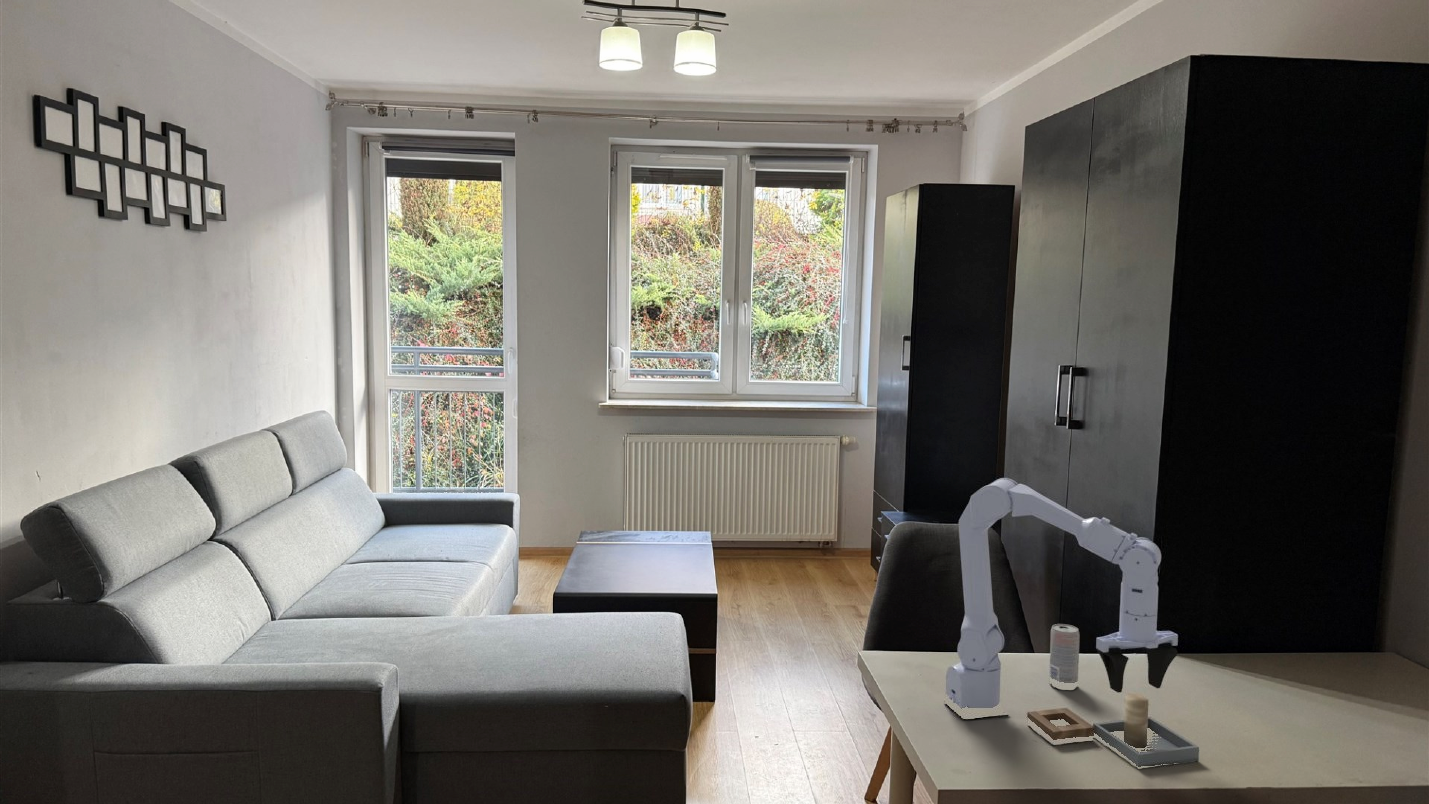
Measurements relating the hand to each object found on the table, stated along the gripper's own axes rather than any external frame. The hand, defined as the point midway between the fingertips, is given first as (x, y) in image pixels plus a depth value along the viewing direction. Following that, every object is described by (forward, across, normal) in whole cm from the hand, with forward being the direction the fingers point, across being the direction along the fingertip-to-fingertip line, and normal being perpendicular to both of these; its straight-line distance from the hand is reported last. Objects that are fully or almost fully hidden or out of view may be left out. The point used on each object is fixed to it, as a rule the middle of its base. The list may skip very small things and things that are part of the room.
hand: (1135, 688), depth 150 cm
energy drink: (+11, +4, +25) cm, 28 cm away
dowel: (+10, 0, 0) cm, 10 cm away
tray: (+10, +1, -1) cm, 11 cm away
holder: (+10, -9, +7) cm, 16 cm away
